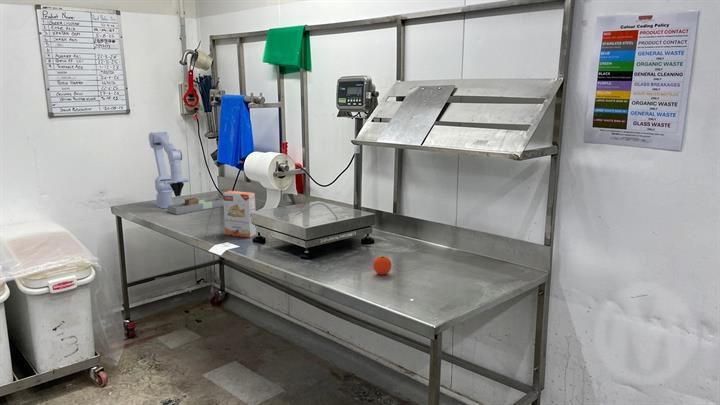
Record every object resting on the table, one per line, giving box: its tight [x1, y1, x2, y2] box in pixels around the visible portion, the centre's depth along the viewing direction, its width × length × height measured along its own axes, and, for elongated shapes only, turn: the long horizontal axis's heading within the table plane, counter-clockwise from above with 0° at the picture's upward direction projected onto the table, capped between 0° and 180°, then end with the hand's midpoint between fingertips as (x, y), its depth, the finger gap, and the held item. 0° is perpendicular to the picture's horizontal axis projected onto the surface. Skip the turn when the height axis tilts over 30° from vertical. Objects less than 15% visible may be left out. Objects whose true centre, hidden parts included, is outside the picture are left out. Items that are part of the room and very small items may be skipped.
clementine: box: [372, 255, 392, 276], centre depth 196 cm, size 8×7×7 cm
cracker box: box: [222, 190, 257, 239], centre depth 247 cm, size 14×6×21 cm, turn 70°
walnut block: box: [184, 197, 199, 206], centre depth 301 cm, size 5×6×4 cm
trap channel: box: [166, 197, 224, 216], centre depth 304 cm, size 12×32×4 cm, turn 139°
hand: (177, 196), depth 294 cm, fingers closed
